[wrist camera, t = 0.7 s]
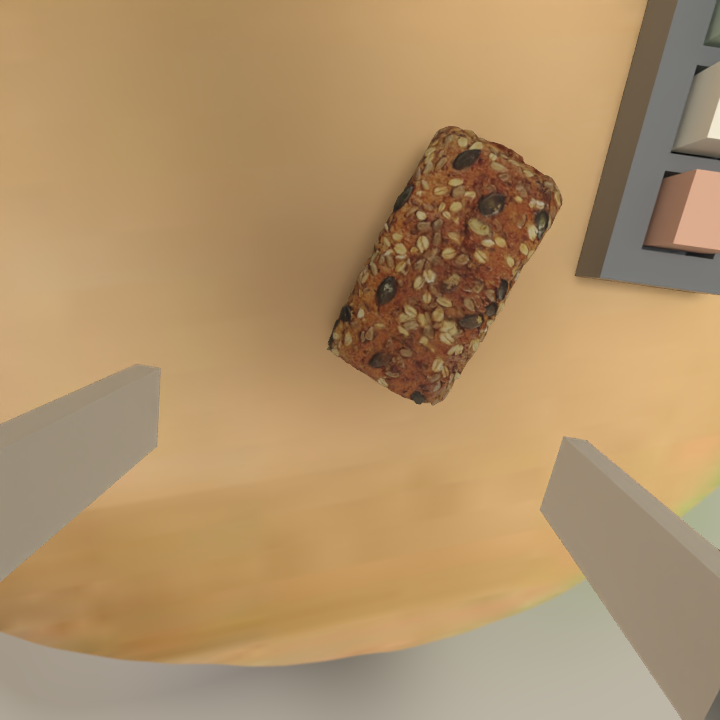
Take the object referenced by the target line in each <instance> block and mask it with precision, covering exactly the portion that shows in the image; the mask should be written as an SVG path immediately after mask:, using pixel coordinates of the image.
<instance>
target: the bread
mask: <svg viewBox="0 0 720 720" xmlns="http://www.w3.org/2000/svg"><path fill="white" fill-rule="evenodd" d="M561 205H562V197H561V194H560V191H559V189H558V187H557V186H556V184H555V182H554V180H553V179H552V178H551V177H549V176H547V175H544V174H542V173H541V172H539V171H538V170H536V169H535V168H534V167H532V166H530V165H527V164H525V163H524V161H523V157H521V156H520V155H518V154H517V153H516V152H514V151H513V150H512V149H508V148H507V147H505V146H503V145H501V144H498V143H494V142H489V141H487V140H485V139H483V138H478V137H477V135H476V134H475V133H474V132H473V131H470V130H462V129H460V128H458V127H454V126H448V127H445V128H443V129H440V130H439V131H437V132H436V134H435V136H434V137H433V139H432V141H431V143H430V145H429V147H428V149H427V150H426V152H425V155H424V157H423V159H422V160H421V161H420V163H419V165H418V167H417V169H416V171H415V173H414V174H413V176H412V178H411V179H410V181H409V182H408V184H407V187H406V188H405V190H404V192H403V193H402V194H401V195H400V196H399V197H398V198H397V201H396V203H395V205H394V209H393V213H392V215H391V216H390V217H389V219H388V221H387V222H386V223H385V228H384V229H383V230H382V231H381V233H380V235H379V238H378V240H377V242H376V243H375V245H374V252H373V255H372V257H371V258H369V259H368V260H367V262H366V263H365V268H364V270H363V271H362V273H360V274H359V276H358V278H357V281H356V284H355V286H354V288H353V289H352V291H351V293H350V296H349V301H348V302H347V304H345V306H344V307H343V308H342V310H341V313H340V316H339V319H338V320H337V321H336V323H335V326H334V328H333V331H332V334H331V337H330V339H329V341H328V345H329V347H328V349H327V350H330V351H332V352H333V353H334V354H335V355H336V356H337V357H341V358H342V359H343V360H344V361H345V362H346V363H349V364H351V365H352V366H353V367H355V368H356V369H357V370H360V371H361V372H363V373H365V374H367V375H368V376H370V377H371V378H372V379H374V380H375V381H377V382H379V383H380V384H381V385H383V386H384V387H387V388H389V389H390V390H391V391H393V392H395V393H397V394H399V395H401V396H402V397H404V398H408V399H411V400H414V402H415V403H416V404H421V403H431V404H432V405H435V404H437V403H438V402H441V401H443V400H444V399H445V397H446V396H447V395H448V393H449V391H450V390H451V388H452V385H453V382H454V380H455V379H459V377H460V375H461V372H462V370H463V369H464V367H465V365H466V363H467V362H468V361H469V359H470V358H471V357H472V356H473V354H474V353H475V352H476V350H477V348H478V346H479V342H482V341H483V339H484V337H485V335H486V333H487V331H488V326H489V325H491V324H492V322H493V321H494V320H495V317H496V315H497V314H498V313H499V312H500V311H502V309H503V307H504V305H505V299H506V298H508V295H509V293H510V291H511V288H512V286H513V285H514V283H515V281H516V280H517V278H518V276H519V273H520V271H521V270H522V268H523V266H524V264H525V263H526V262H527V261H528V260H529V259H530V257H531V256H532V255H533V253H534V252H535V250H536V249H537V247H538V245H539V244H540V242H541V240H542V238H543V237H544V235H545V233H546V232H547V231H548V230H549V229H550V227H551V225H552V223H553V221H554V219H555V216H556V214H557V212H558V211H559V209H560V207H561Z"/></svg>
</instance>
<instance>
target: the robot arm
mask: <svg viewBox="0 0 720 720" xmlns="http://www.w3.org/2000/svg"><path fill="white" fill-rule="evenodd" d="M160 373H161V368H157V367H152V366H146V365H140V364H136V365H133V366H131V367H129V368H127V369H124V370H122V371H120V372H118V373H115V374H113V375H111V376H108V377H106V378H104V379H102V380H99V381H97V382H95V383H93V384H90V385H88V386H86V387H83V388H81V389H79V390H77V391H74V392H72V393H70V394H68V395H65V396H63V397H61V398H58V399H56V400H54V401H52V402H49V403H47V404H45V405H43V406H40V407H38V408H36V409H34V410H31V411H29V412H27V413H24V414H22V415H20V416H18V417H15V418H13V419H11V420H9V421H6V422H4V423H2V424H0V582H1V581H2V580H3V579H4V578H5V577H7V576H8V575H9V574H10V573H11V572H12V571H14V570H15V569H16V568H17V567H18V566H19V565H20V564H22V563H23V562H24V561H25V560H26V559H27V558H29V557H30V556H31V555H32V554H33V553H34V552H35V551H37V550H38V549H39V548H40V547H41V546H42V545H44V544H45V543H46V542H47V541H48V540H49V539H50V538H52V537H53V536H54V535H55V534H56V533H57V532H59V531H60V530H61V529H62V528H63V527H64V526H65V525H67V524H68V523H69V522H70V521H71V520H72V519H74V518H75V517H76V516H77V515H78V514H79V513H80V512H82V511H83V510H84V509H85V508H86V507H87V506H89V505H90V504H91V503H92V502H93V501H94V500H95V499H97V498H98V497H99V496H100V495H101V494H102V493H104V492H105V491H106V490H107V489H108V488H109V487H110V486H112V485H113V484H114V483H115V482H116V481H117V480H119V479H120V478H121V477H122V476H123V475H124V474H125V473H127V472H128V471H129V470H130V469H131V468H132V467H134V466H135V465H136V464H137V463H138V462H139V461H140V460H142V459H143V458H144V457H145V456H146V455H147V454H149V453H150V452H151V451H152V450H153V449H154V448H156V447H157V437H158V416H159V395H160ZM540 511H541V512H542V514H543V515H544V517H545V518H546V520H547V521H548V523H549V524H550V526H551V527H552V529H553V530H554V531H555V533H556V534H557V536H558V537H559V539H560V540H561V542H562V543H563V545H564V546H565V548H566V549H567V551H568V552H569V554H570V555H571V557H572V558H573V559H574V561H575V562H576V564H577V565H578V567H579V568H580V570H581V571H582V573H583V574H584V576H585V577H586V579H587V580H588V582H589V583H590V585H591V586H592V587H593V589H594V590H595V592H596V593H597V595H598V596H599V598H600V599H601V601H602V602H603V604H604V605H605V607H606V608H607V610H608V611H609V613H610V614H611V615H612V617H613V618H614V620H615V621H616V623H617V624H618V626H619V627H620V629H621V630H622V632H623V633H624V635H625V636H626V638H627V639H628V641H629V642H630V643H631V645H632V646H633V648H634V649H635V651H636V652H637V653H638V655H639V657H640V658H641V660H642V661H643V663H644V664H645V666H646V667H647V668H648V670H649V671H650V673H651V674H652V676H653V677H654V679H655V680H656V682H657V683H658V685H659V686H660V688H661V689H662V691H663V692H664V694H665V695H666V697H667V698H668V699H669V701H670V702H671V704H672V705H673V707H674V708H675V710H676V711H677V713H678V714H679V716H680V717H681V719H682V720H720V550H719V549H717V548H716V547H714V546H713V545H712V544H711V543H710V542H708V541H707V540H706V539H705V538H704V537H702V536H701V535H700V534H699V533H698V532H696V531H695V530H694V529H693V528H692V527H690V526H689V525H688V524H687V523H686V522H684V521H683V520H682V519H681V518H680V517H678V516H677V515H676V514H675V513H674V512H672V511H671V510H670V509H669V508H668V507H666V506H665V505H664V504H663V503H661V502H660V501H659V500H658V499H657V498H655V497H654V496H653V495H652V494H651V493H649V492H648V491H647V490H646V489H645V488H643V487H642V486H641V485H640V484H639V483H637V482H636V481H635V480H634V479H633V478H631V477H630V476H629V475H628V474H627V473H625V472H624V471H623V470H622V469H621V468H619V467H618V466H617V465H616V464H615V463H613V462H612V461H611V460H610V459H609V458H607V457H606V456H605V455H604V454H603V453H601V452H600V451H599V450H598V449H597V448H595V447H594V446H593V445H592V444H591V443H589V442H588V441H587V440H582V439H576V438H570V437H563V440H562V443H561V446H560V449H559V452H558V455H557V458H556V462H555V465H554V468H553V471H552V474H551V477H550V480H549V483H548V486H547V489H546V493H545V496H544V499H543V502H542V505H541V508H540Z"/></svg>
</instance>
